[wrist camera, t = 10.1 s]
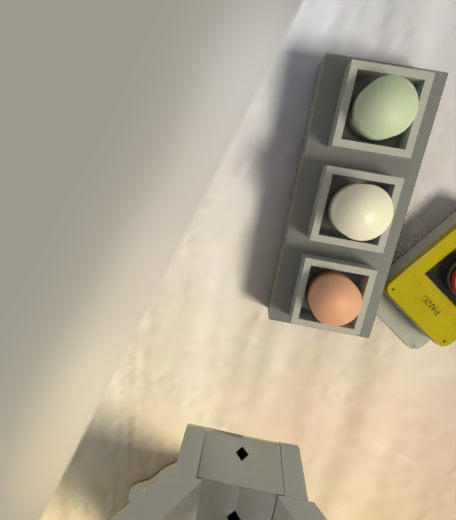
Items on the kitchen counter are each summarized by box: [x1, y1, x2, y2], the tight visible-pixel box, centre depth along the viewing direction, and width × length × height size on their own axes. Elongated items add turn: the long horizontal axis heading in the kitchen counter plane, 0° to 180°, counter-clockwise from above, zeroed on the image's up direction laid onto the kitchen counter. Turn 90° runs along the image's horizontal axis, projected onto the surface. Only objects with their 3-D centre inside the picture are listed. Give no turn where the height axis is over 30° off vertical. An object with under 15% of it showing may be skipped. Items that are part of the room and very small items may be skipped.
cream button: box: [328, 184, 394, 241], centre depth 28 cm, size 4×4×3 cm
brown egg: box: [306, 269, 362, 326], centre depth 31 cm, size 4×4×3 cm
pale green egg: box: [348, 75, 419, 142], centre depth 27 cm, size 4×4×3 cm
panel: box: [268, 53, 448, 338], centre depth 31 cm, size 24×10×5 cm, turn 170°
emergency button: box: [376, 209, 456, 349], centre depth 33 cm, size 9×4×15 cm
